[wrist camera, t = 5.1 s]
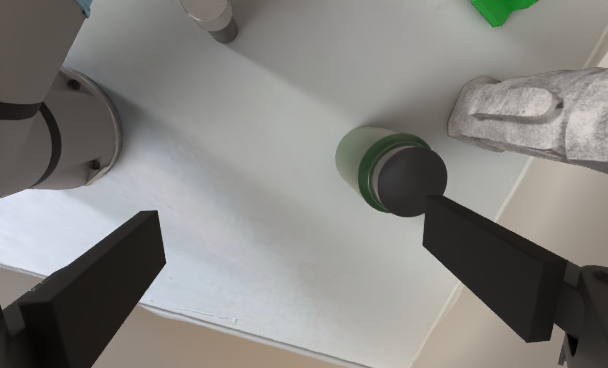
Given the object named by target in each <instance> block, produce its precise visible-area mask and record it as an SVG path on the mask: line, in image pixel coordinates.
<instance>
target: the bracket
mask: <svg viewBox="0 0 608 368" xmlns="http://www.w3.org/2000/svg"><path fill="white" fill-rule="evenodd" d="M537 1H538V0H472V4H473V5H474V6H475V7H476V8H477V9H478V11H479V12H480V13H481V14H482V15H483V16H484V17H485V19H486V20H487V21H488V22H489V23H490V24H491V25H492V27H498V26H502V25H503V23H504V22H505V21H506V19H507V18H508V17H509V15H510V14H511V13H512V11H515V10H520V9H525V8H528V7H530V6H531V5H533V4H534V3H535V2H537Z"/></svg>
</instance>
